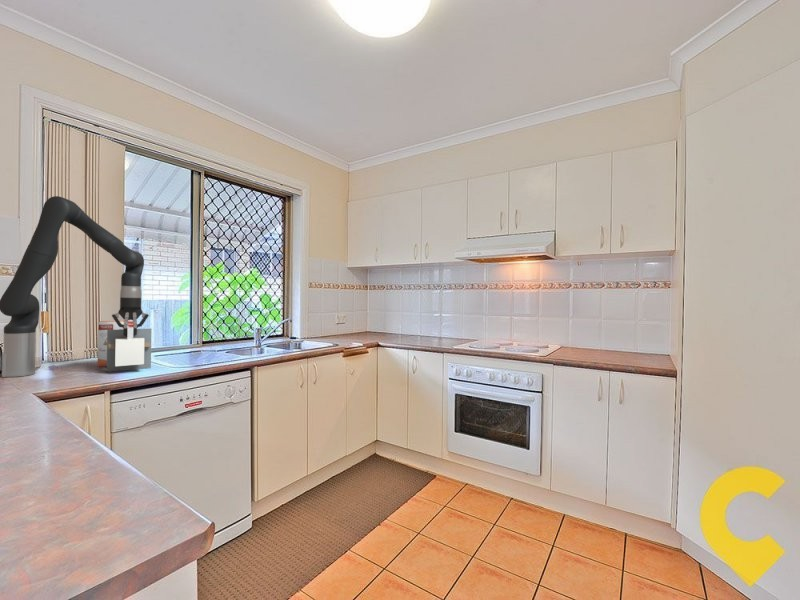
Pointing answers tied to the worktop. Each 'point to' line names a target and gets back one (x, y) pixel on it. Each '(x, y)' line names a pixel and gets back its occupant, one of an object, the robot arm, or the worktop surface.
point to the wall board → (119, 334)
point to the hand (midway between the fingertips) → (130, 336)
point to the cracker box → (103, 339)
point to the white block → (129, 350)
